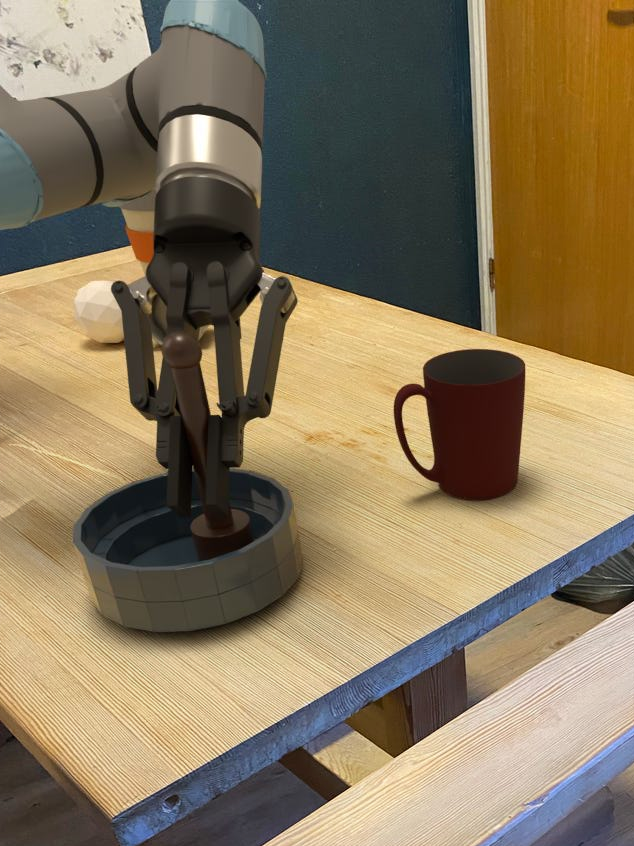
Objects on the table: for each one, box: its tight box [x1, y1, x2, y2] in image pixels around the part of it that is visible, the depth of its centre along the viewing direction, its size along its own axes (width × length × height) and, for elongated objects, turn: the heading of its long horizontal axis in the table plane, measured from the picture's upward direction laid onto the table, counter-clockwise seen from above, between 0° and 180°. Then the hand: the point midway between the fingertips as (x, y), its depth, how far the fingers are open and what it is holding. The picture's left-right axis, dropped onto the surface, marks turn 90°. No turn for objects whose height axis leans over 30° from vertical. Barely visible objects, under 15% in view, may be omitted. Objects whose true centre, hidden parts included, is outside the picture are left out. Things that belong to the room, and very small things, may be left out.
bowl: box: [72, 468, 304, 633], centre depth 73 cm, size 16×16×6 cm
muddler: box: [161, 331, 254, 561], centre depth 67 cm, size 4×4×17 cm
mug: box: [393, 348, 526, 501], centre depth 83 cm, size 12×9×11 cm
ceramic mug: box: [147, 293, 210, 346], centre depth 121 cm, size 11×8×8 cm
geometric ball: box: [73, 280, 124, 344], centre depth 121 cm, size 8×8×8 cm
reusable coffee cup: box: [117, 187, 157, 276], centre depth 138 cm, size 13×13×15 cm
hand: (198, 510), depth 65 cm, fingers closed on muddler, 2 cm apart
